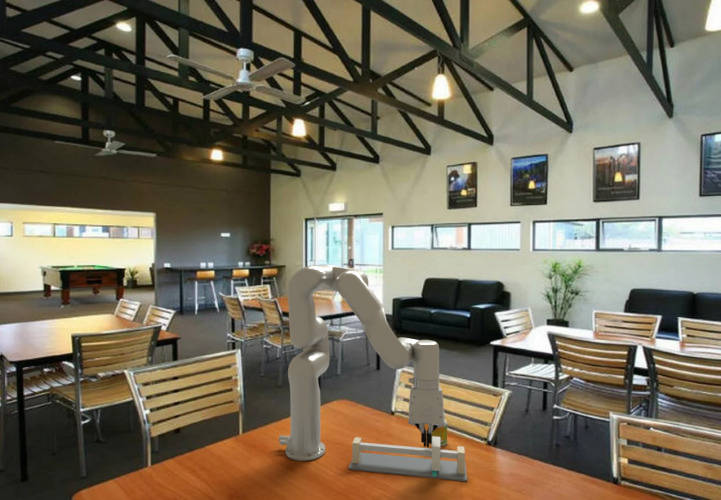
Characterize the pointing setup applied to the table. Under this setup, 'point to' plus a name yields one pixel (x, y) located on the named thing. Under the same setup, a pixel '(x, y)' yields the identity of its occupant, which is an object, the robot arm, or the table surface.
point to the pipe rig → (407, 461)
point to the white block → (435, 453)
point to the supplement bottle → (441, 433)
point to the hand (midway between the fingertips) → (426, 444)
